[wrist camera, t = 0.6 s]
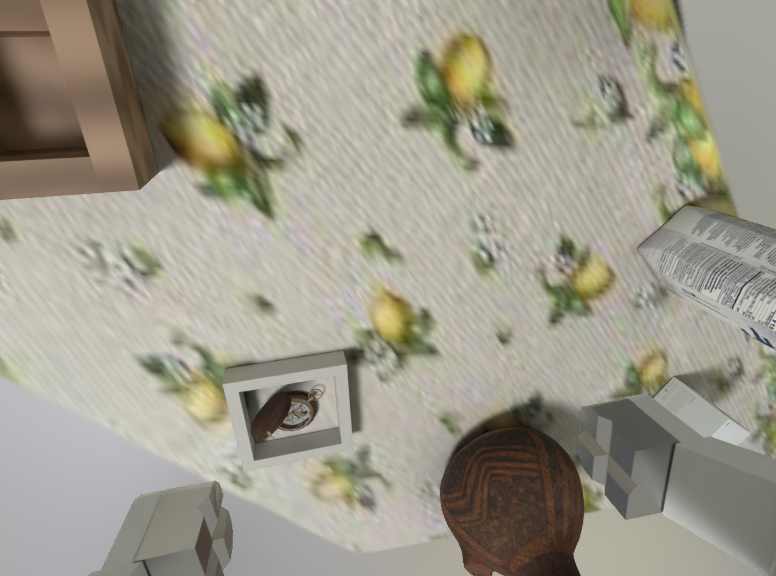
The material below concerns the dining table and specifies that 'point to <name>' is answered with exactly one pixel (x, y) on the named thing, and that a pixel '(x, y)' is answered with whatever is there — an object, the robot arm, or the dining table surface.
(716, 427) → the small box
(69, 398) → the dining table surface
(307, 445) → the watch tray
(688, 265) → the juice carton
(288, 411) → the compass
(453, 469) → the jug
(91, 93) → the holder
